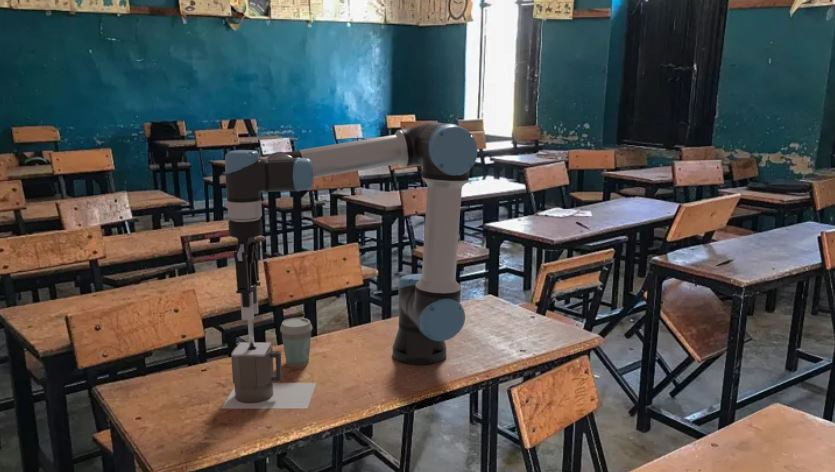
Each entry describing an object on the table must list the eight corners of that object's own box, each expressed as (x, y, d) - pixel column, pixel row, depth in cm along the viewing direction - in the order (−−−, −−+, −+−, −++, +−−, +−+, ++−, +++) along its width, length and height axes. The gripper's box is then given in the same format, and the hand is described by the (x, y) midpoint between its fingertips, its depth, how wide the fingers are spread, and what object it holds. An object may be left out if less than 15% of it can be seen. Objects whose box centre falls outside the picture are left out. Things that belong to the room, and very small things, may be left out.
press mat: (316, 384, 172) (316, 382, 172) (307, 410, 158) (307, 408, 158) (237, 384, 172) (237, 382, 172) (221, 410, 158) (221, 408, 158)
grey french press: (285, 387, 169) (283, 341, 167) (278, 403, 161) (276, 355, 158) (240, 387, 169) (237, 341, 167) (230, 403, 161) (227, 355, 158)
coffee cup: (307, 371, 180) (305, 328, 177) (276, 369, 181) (274, 326, 179) (318, 359, 188) (316, 318, 185) (288, 357, 190) (287, 316, 187)
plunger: (261, 349, 164) (258, 283, 161) (257, 355, 161) (254, 288, 157) (246, 349, 164) (242, 283, 161) (242, 355, 161) (238, 288, 157)
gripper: (238, 212, 164) (243, 305, 169) (218, 225, 148) (224, 328, 153) (269, 212, 164) (273, 305, 169) (252, 225, 148) (258, 328, 153)
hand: (250, 316), depth 161 cm, fingers closed on plunger, 4 cm apart
